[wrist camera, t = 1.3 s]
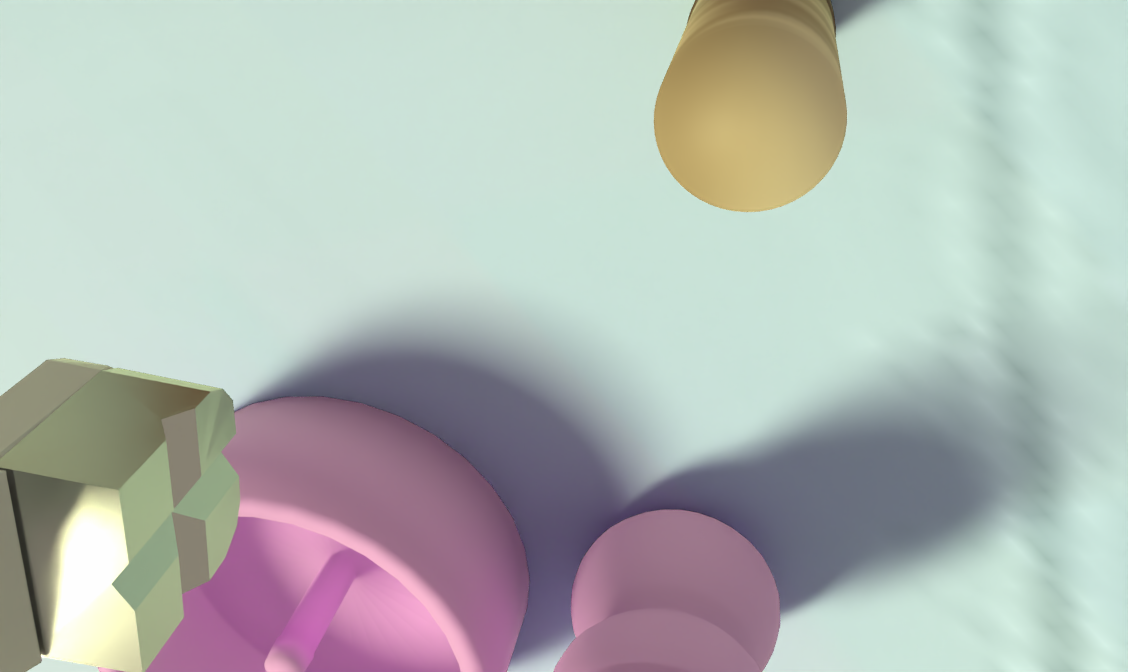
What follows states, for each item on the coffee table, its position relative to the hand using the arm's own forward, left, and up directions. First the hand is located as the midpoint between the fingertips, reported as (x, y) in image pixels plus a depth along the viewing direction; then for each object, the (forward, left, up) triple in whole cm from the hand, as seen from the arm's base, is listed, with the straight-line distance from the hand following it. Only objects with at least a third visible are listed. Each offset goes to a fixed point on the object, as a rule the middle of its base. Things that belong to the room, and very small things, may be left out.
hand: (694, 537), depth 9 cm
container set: (+8, +23, -25) cm, 35 cm away
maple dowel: (0, 0, -25) cm, 25 cm away
